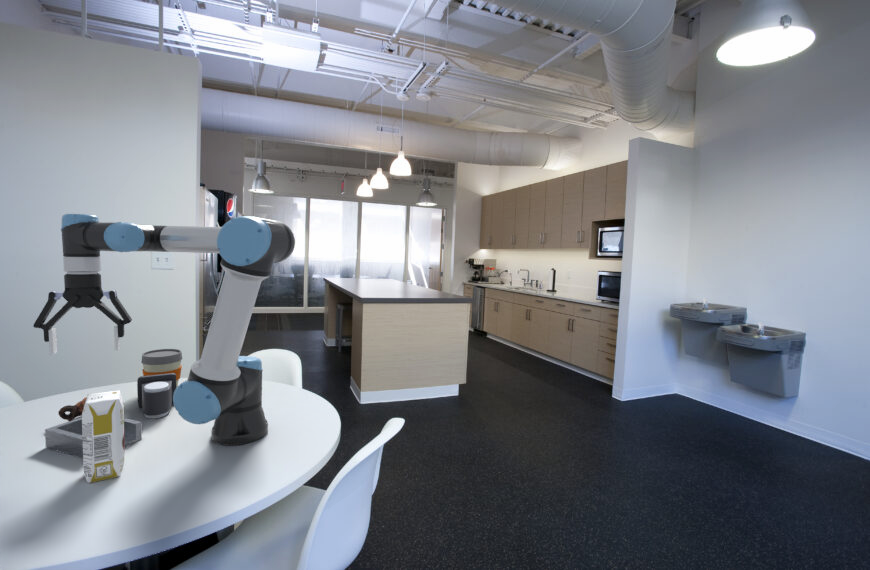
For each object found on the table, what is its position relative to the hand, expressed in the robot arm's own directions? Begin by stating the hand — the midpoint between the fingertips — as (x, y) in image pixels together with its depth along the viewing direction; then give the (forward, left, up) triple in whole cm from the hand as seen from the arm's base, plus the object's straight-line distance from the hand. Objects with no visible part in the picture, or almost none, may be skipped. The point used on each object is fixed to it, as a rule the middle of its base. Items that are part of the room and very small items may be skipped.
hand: (86, 351), depth 112 cm
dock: (-3, 0, -25) cm, 26 cm away
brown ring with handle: (+15, -8, -26) cm, 31 cm away
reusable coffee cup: (+17, -35, -26) cm, 47 cm away
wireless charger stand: (+3, -22, -26) cm, 34 cm away
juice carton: (-20, +9, -26) cm, 34 cm away
